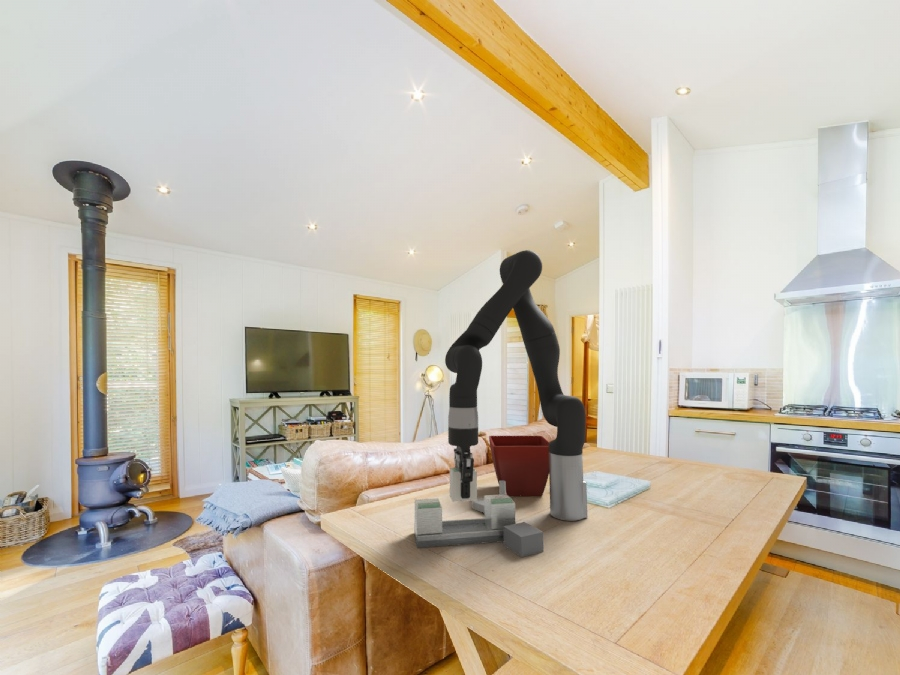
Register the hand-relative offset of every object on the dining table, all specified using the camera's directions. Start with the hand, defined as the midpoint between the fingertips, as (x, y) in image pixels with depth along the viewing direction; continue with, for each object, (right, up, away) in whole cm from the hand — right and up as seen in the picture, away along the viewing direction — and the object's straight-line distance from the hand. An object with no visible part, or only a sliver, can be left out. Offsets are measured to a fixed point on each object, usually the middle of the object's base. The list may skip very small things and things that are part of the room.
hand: (463, 494), depth 105 cm
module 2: (+14, -10, -8) cm, 18 cm away
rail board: (0, -10, -1) cm, 10 cm away
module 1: (0, -1, 0) cm, 1 cm away
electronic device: (+9, -12, +16) cm, 22 cm away
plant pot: (+20, -13, +36) cm, 43 cm away
